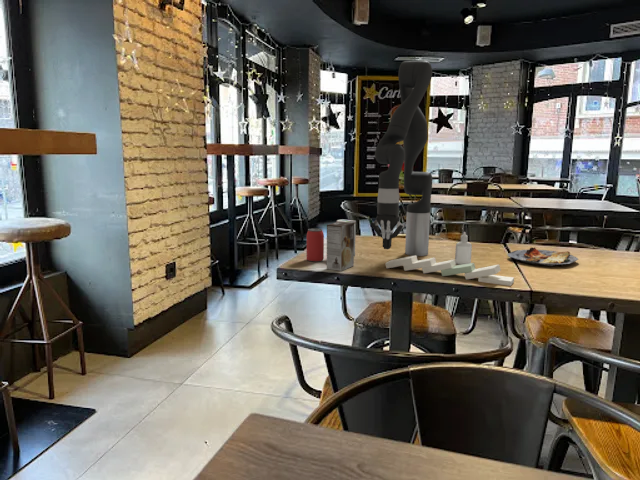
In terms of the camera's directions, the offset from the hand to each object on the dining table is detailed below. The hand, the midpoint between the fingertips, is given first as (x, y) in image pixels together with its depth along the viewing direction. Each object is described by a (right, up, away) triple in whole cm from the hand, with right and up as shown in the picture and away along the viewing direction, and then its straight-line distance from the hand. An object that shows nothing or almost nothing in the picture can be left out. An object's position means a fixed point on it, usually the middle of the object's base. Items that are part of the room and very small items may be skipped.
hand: (386, 248), depth 177 cm
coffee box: (-17, -7, -1) cm, 18 cm away
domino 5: (+28, -9, -16) cm, 34 cm away
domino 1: (+1, -6, 0) cm, 6 cm away
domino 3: (+13, -7, -7) cm, 16 cm away
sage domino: (+18, -8, -10) cm, 22 cm away
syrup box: (-14, -3, +18) cm, 23 cm away
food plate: (+62, -5, +13) cm, 63 cm away
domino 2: (+7, -6, -3) cm, 10 cm away
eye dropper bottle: (+29, -6, +6) cm, 30 cm away
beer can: (-26, -5, +10) cm, 28 cm away
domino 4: (+25, -8, -15) cm, 30 cm away
